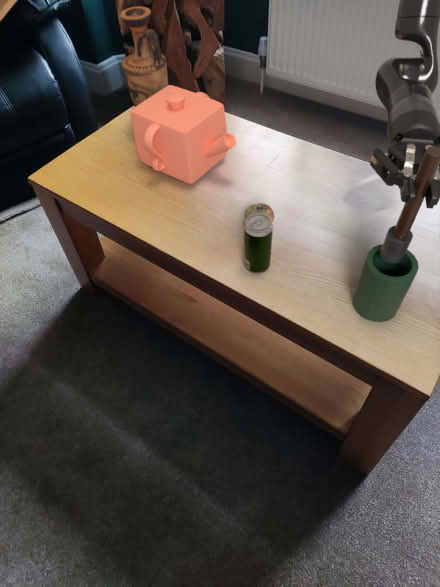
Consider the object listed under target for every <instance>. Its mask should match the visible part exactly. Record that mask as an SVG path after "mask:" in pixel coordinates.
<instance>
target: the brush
mask: <svg viewBox="0 0 440 587" xmlns="http://www.w3.org/2000/svg"><path fill="white" fill-rule="evenodd" d="M439 164H440V148H439V147H429V148H427V150H426V152H425V154H424V157H423V159H422V162H421V164H420V167H419V169H418V172H417V174H415V177H414V183H415V192H416V195H415V199H414V201H413V204H412V206H405V203H404V204H403V206H402V209H401V210H400V211H401V212H400V214H399V216H398V219H397V222H396V224H395V225H393V226H390V227H389V228H388V229H387V232H386V235H385V238H384V240H383V243H382V244H383V245H382V247H381V250H380V256H381V258H382V259H383V260H384V261H386V262H388V263H393V264H394V263H399V262H401V261H402V260H403V258H404V255H405V253H406V251H407V250H409V246H410V244H411V242H412V240H413V238H414V235H413V231H411V229H412V227H413V224H414V222H415V220H416V218H417V216H418V213H419V211H420V209H421V207H422V204H423V203H424V200H425V196H426V193H427V191H428V189H429V187H430V184H431V182H432V180H433V178H434V175H435V173H436V171H437V169H438V170H439V168H438V166H439Z"/></svg>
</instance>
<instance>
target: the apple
mask: <svg viewBox="0 0 440 587" xmlns="http://www.w3.org/2000/svg"><path fill="white" fill-rule="evenodd" d="M257 213H259V214H265V215H267V216H268V217H270V219H271V220H272V224H273V222H274V221H275V213H274V210H273V208H272V207H271V206H270V205H269V204H266V203H261V202H259V203H253V204H251V205H249V206H248V207H246V209H245V210H244V213H243V217H244V218H243V219H244V221H246V219H247V218H248V217H249V216H250V215H253V214H257Z"/></svg>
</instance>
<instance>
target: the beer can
mask: <svg viewBox="0 0 440 587" xmlns="http://www.w3.org/2000/svg"><path fill="white" fill-rule="evenodd" d="M273 230H274V225H273V223H272V220H271V219H270V217H268V216H267V215H265V214H259V213H257V214H253V215H250V216H249V217H248V218H247V219H246V220H245V223H244V226H243V266H244V267H245V269H246V270H247V271H248V272H249V273H251V274H254V275H259V274H260V275H261V274H263V273H265V272H267V270H269V268H270V266H271V256H272V244H273Z"/></svg>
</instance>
